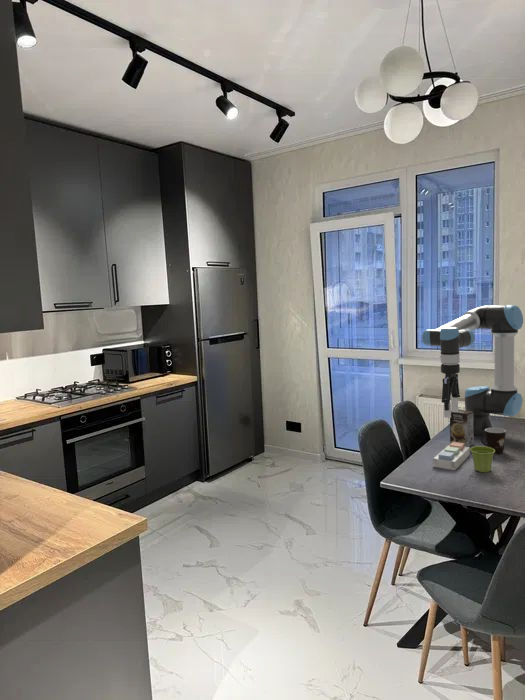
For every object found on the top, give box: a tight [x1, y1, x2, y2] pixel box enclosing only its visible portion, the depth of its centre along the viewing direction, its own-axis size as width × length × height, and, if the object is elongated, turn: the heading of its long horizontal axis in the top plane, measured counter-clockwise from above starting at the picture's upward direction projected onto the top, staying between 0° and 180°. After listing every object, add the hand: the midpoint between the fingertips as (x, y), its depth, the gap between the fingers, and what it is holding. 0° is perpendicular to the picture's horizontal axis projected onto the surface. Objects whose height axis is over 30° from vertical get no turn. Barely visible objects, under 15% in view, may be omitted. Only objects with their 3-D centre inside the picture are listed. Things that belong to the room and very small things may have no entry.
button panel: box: [432, 444, 471, 471], centre depth 222 cm, size 22×9×4 cm, turn 143°
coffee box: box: [449, 408, 475, 447], centre depth 243 cm, size 9×6×16 cm
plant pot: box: [470, 445, 495, 473], centre depth 208 cm, size 9×9×9 cm
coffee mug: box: [480, 427, 507, 455], centre depth 229 cm, size 12×9×10 cm
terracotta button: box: [450, 442, 464, 451], centre depth 227 cm, size 5×5×3 cm
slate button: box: [437, 450, 454, 461], centre depth 216 cm, size 5×5×3 cm
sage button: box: [443, 446, 460, 456], centre depth 222 cm, size 5×5×3 cm
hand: (451, 414), depth 220 cm, fingers open, 9 cm apart
